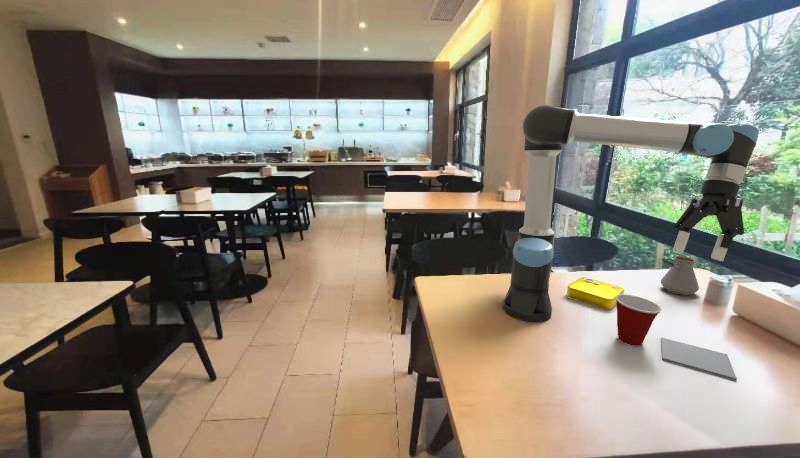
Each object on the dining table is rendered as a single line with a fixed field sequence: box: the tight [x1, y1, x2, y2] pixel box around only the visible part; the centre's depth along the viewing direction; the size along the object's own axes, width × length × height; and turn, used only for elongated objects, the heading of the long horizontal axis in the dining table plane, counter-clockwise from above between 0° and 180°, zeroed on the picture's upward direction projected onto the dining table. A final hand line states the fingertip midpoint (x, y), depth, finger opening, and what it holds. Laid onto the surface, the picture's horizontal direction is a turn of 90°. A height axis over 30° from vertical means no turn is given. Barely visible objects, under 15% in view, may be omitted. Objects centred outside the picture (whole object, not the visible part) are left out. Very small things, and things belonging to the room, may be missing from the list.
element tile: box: [566, 276, 625, 310], centre depth 126 cm, size 15×15×5 cm
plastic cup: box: [615, 293, 663, 347], centre depth 97 cm, size 11×11×12 cm
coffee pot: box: [657, 256, 700, 296], centre depth 129 cm, size 21×12×15 cm, turn 116°
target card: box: [660, 337, 737, 381], centre depth 90 cm, size 14×12×1 cm
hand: (695, 256), depth 97 cm, fingers open, 13 cm apart
